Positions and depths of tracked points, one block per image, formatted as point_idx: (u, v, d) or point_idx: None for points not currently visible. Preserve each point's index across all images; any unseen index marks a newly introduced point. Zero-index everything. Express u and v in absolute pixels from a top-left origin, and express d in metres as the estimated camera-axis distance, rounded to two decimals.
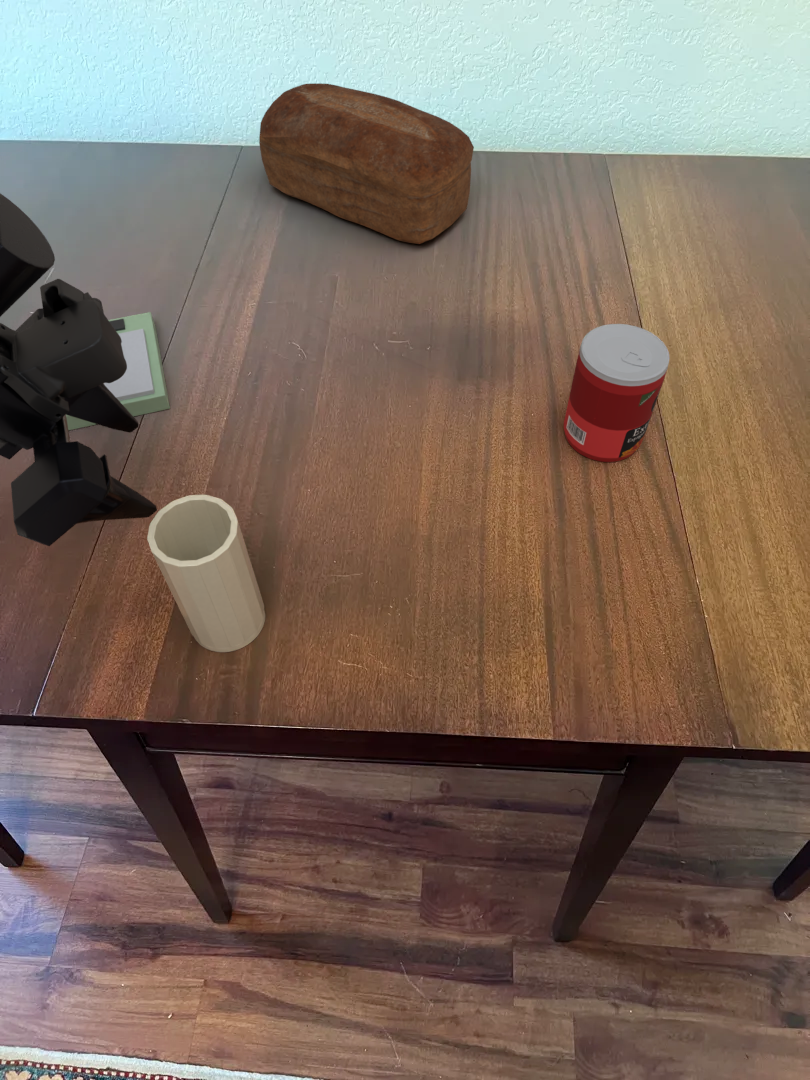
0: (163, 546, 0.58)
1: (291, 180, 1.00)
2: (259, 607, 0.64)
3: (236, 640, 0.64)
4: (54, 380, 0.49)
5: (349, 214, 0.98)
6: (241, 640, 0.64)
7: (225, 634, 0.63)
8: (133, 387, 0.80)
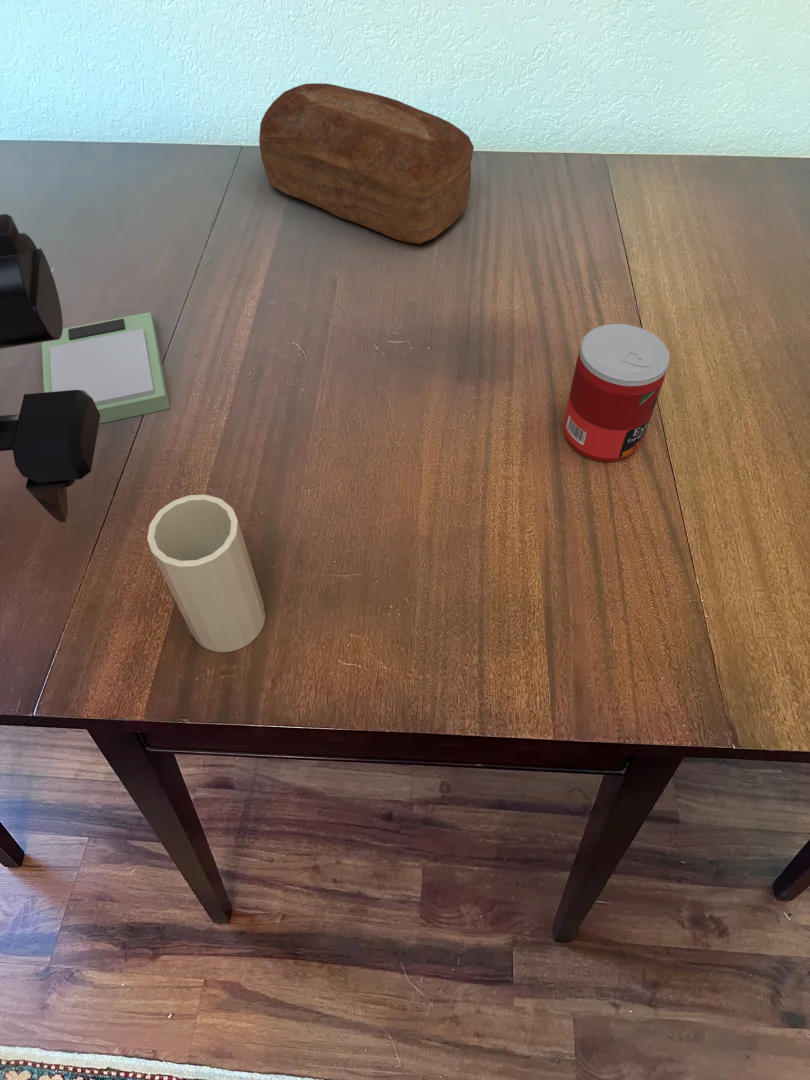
0: (163, 546, 0.58)
1: (291, 180, 1.00)
2: (259, 607, 0.64)
3: (236, 640, 0.64)
4: None
5: (349, 214, 0.98)
6: (241, 640, 0.64)
7: (225, 634, 0.63)
8: (133, 387, 0.80)
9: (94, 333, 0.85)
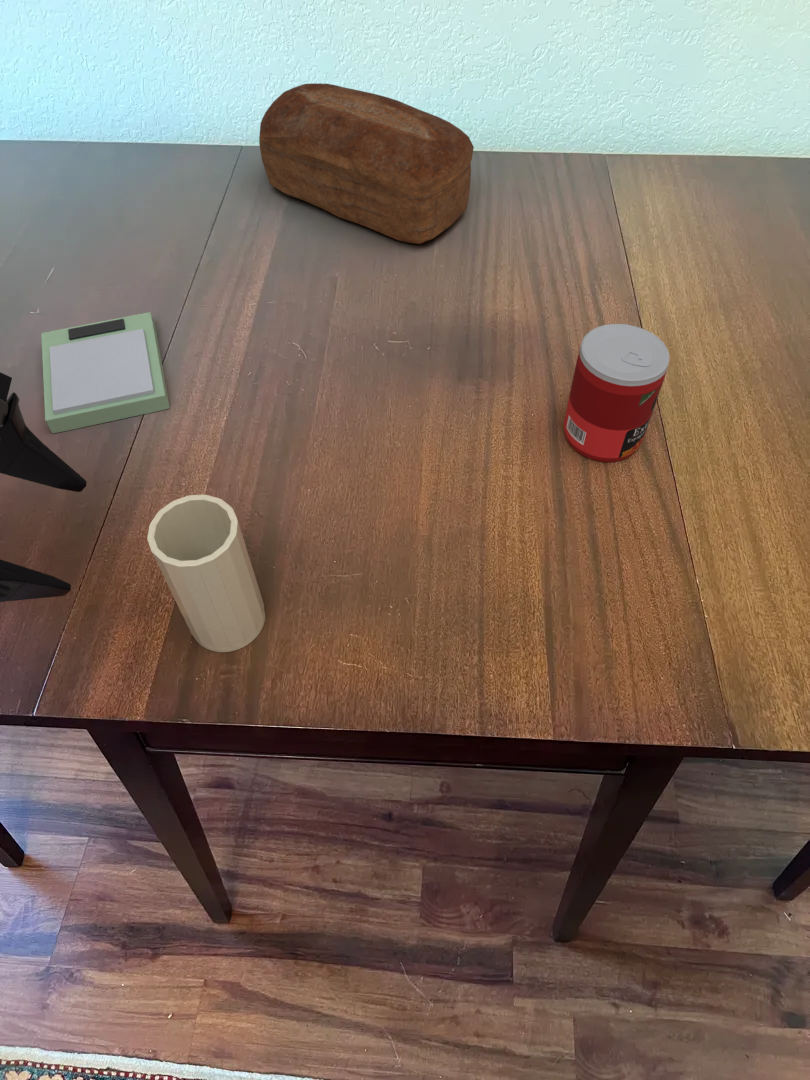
0: (163, 546, 0.58)
1: (291, 180, 1.00)
2: (259, 607, 0.64)
3: (236, 640, 0.64)
4: None
5: (349, 214, 0.98)
6: (241, 640, 0.64)
7: (225, 634, 0.63)
8: (133, 387, 0.80)
9: (94, 333, 0.85)
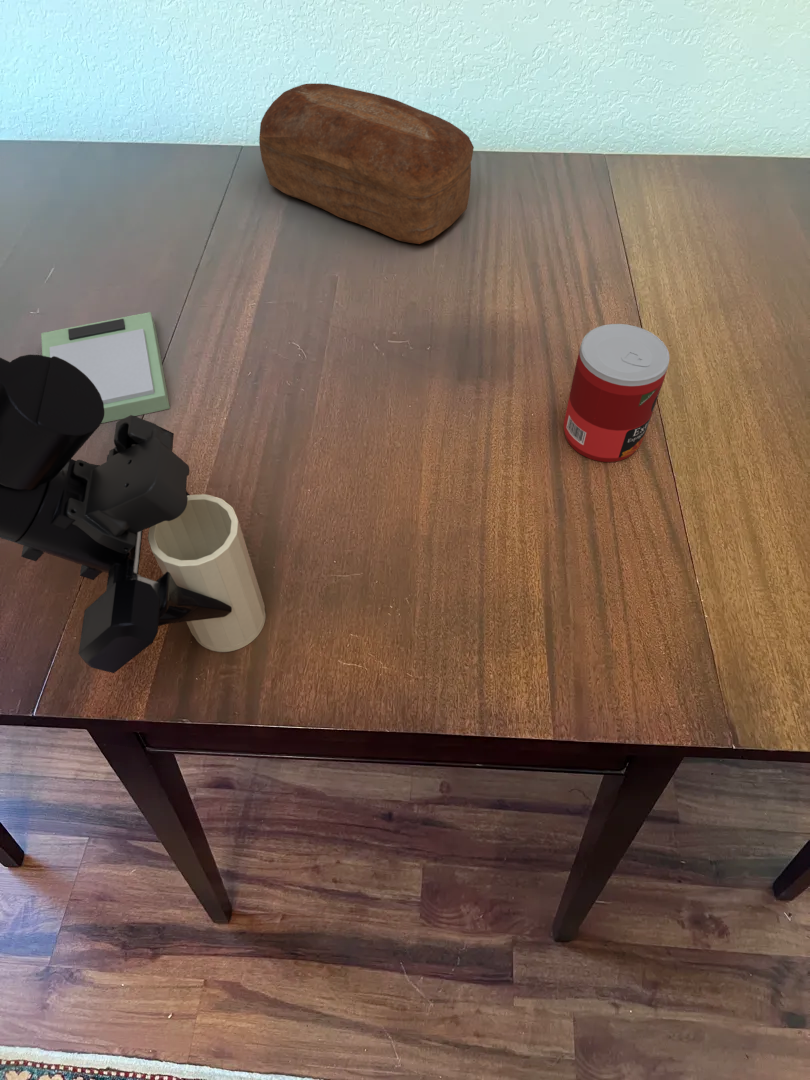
0: (164, 545, 0.58)
1: (291, 180, 1.00)
2: (259, 607, 0.64)
3: (236, 640, 0.64)
4: (117, 521, 0.51)
5: (349, 214, 0.98)
6: (241, 640, 0.64)
7: (225, 634, 0.63)
8: (133, 387, 0.80)
9: (94, 333, 0.85)
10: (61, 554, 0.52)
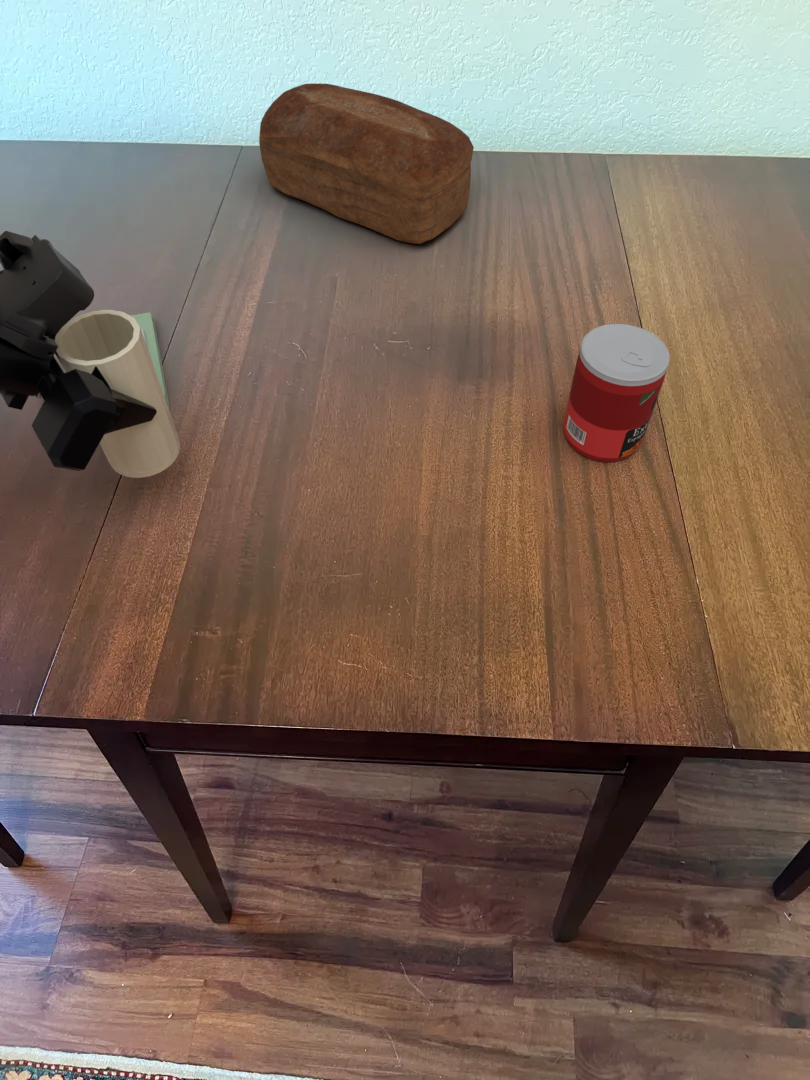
0: None
1: (291, 180, 1.00)
2: (172, 420, 0.69)
3: (164, 455, 0.68)
4: (36, 320, 0.53)
5: (349, 214, 0.98)
6: (168, 455, 0.68)
7: (154, 448, 0.66)
8: None
9: None
10: None
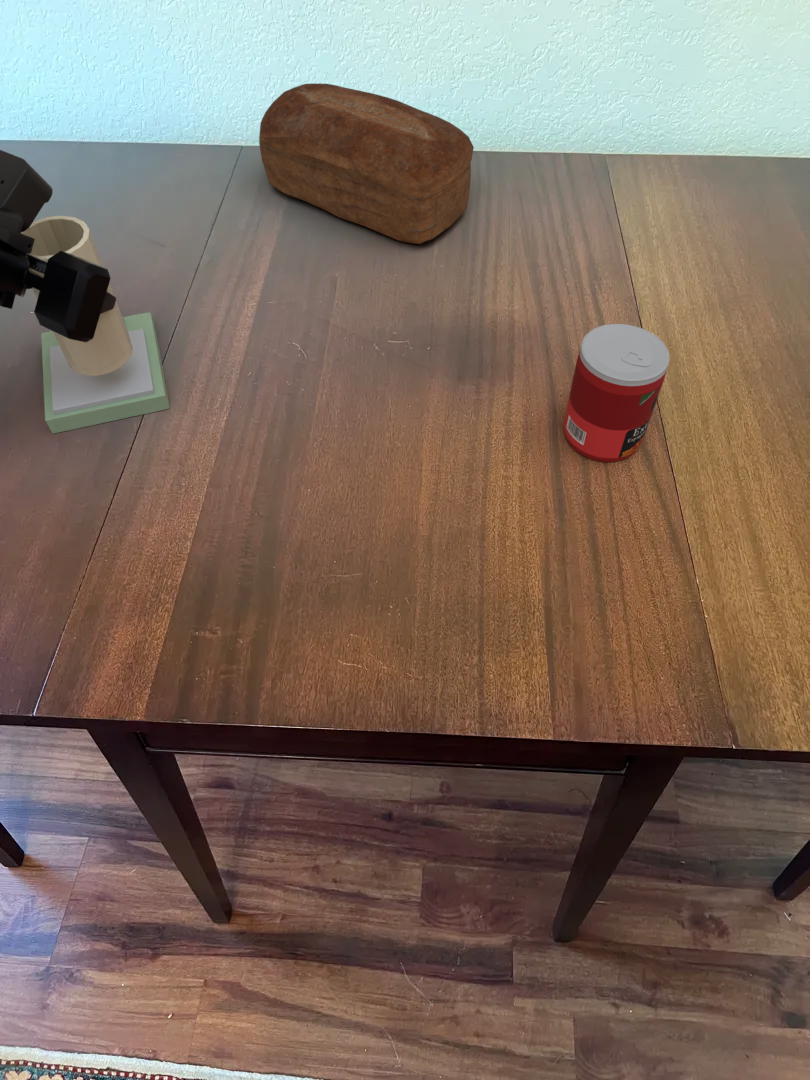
0: None
1: (291, 180, 1.00)
2: None
3: (125, 346, 0.76)
4: (14, 215, 0.61)
5: (349, 214, 0.98)
6: (127, 347, 0.77)
7: (117, 338, 0.75)
8: (133, 387, 0.80)
9: None
10: None
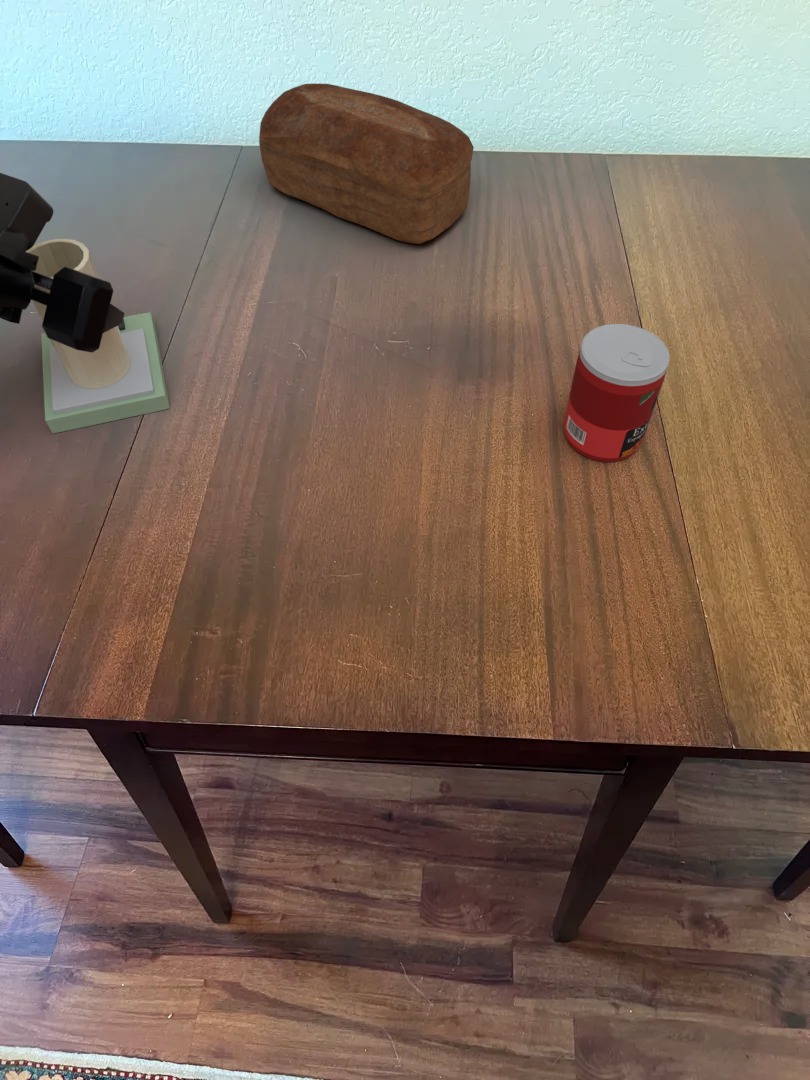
0: None
1: (291, 180, 1.00)
2: None
3: (124, 359, 0.80)
4: (19, 234, 0.64)
5: (349, 214, 0.98)
6: (126, 360, 0.80)
7: (117, 352, 0.78)
8: (133, 387, 0.80)
9: None
10: None
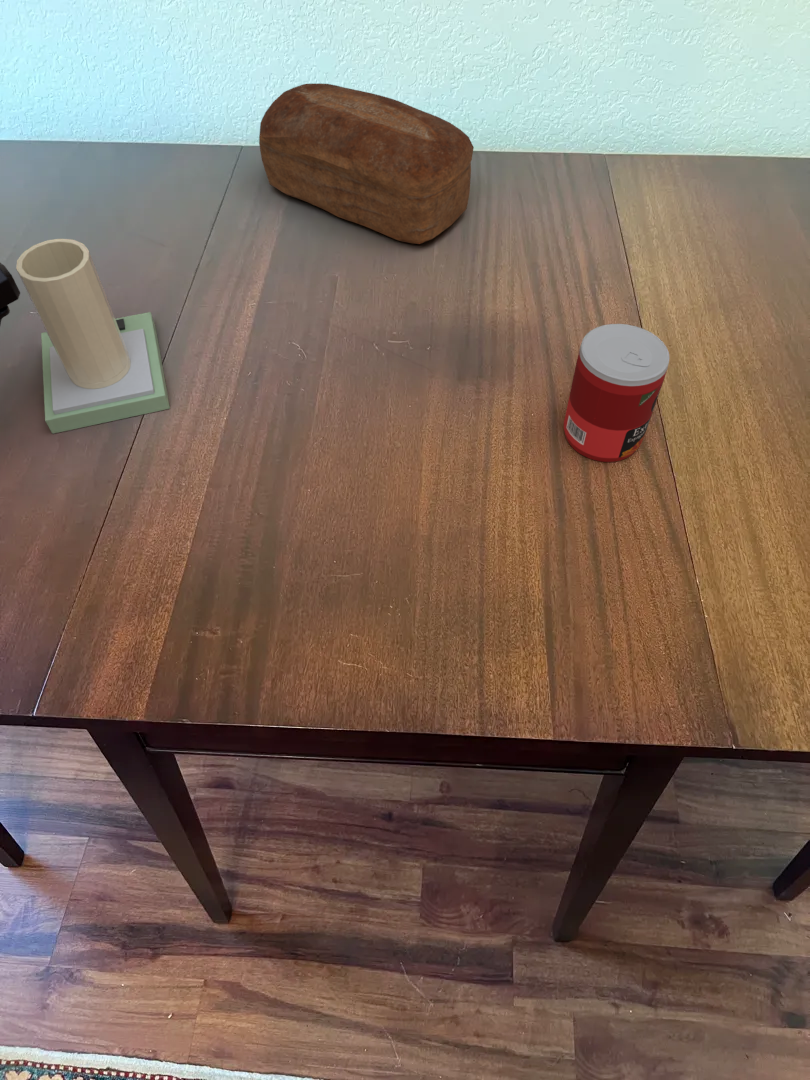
0: None
1: (291, 180, 1.00)
2: None
3: (124, 359, 0.80)
4: None
5: (349, 214, 0.98)
6: (126, 360, 0.80)
7: (117, 352, 0.78)
8: (133, 387, 0.80)
9: None
10: None
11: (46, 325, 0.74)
